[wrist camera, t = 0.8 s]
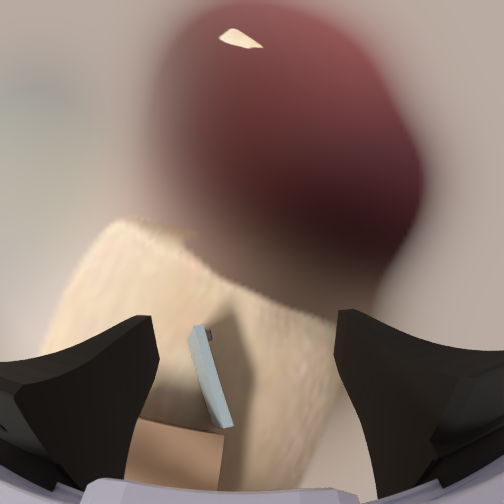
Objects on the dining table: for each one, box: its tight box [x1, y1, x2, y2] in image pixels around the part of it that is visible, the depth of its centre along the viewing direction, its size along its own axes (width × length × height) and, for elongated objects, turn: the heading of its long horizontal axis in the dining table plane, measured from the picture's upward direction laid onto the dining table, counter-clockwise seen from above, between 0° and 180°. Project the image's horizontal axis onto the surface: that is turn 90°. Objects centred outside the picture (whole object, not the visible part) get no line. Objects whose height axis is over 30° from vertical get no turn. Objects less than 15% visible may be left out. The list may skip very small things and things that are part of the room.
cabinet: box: [124, 416, 225, 491], centre depth 17 cm, size 9×9×5 cm
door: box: [188, 324, 234, 428], centre depth 23 cm, size 2×9×5 cm, turn 18°
